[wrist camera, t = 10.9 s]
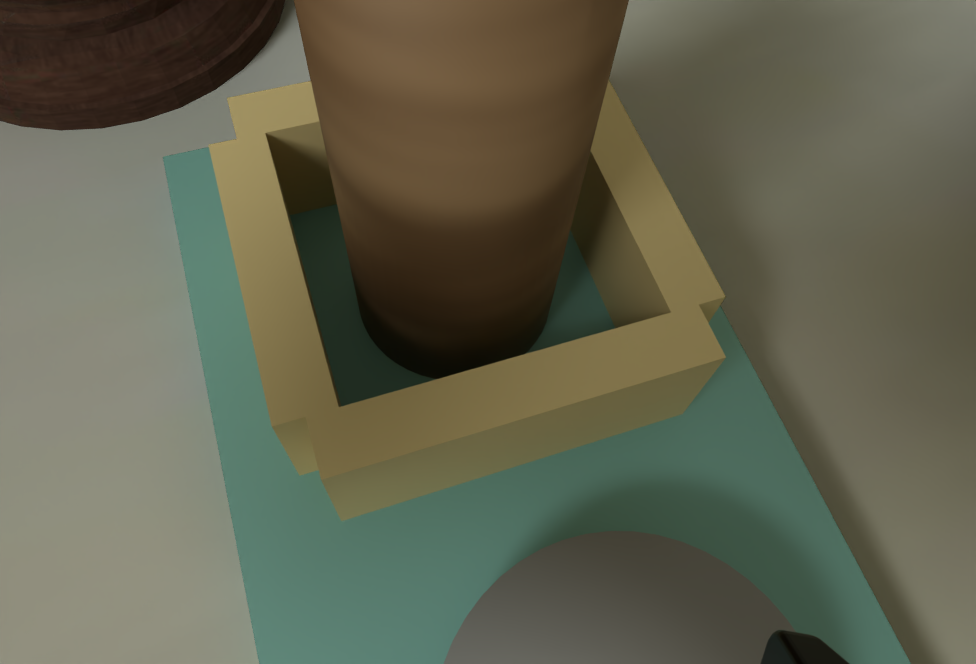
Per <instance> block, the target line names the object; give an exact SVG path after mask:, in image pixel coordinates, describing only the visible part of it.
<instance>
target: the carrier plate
mask: <svg viewBox="0 0 976 664" xmlns="http://www.w3.org/2000/svg"><path fill="white" fill-rule="evenodd" d="M227 100H228V104H229V108H230V113H231V117H232V121H233V125H234V129H235V133H236V137H237V139H234V140H229V141H224V142H220V143H215V144H210V145H209V147H207V148H202V149H198V150H193V151H188V152H184V153H179V154H174V155H170V156H165V157H163V160H164V166H165V171H166V176H167V181H168V187H169V192H170V197H171V202H172V208H173V213H174V218H175V223H176V229H177V234H178V239H179V244H180V250H181V255H182V260H183V265H184V271H185V276H186V281H187V286H188V292H189V297H190V302H191V307H192V313H193V318H194V323H195V328H196V334H197V339H198V344H199V349H200V355H201V360H202V365H203V370H204V376H205V381H206V386H207V391H208V397H209V402H210V407H211V413H212V418H213V423H214V428H215V434H216V439H217V444H218V449H219V455H220V460H221V465H222V470H223V476H224V481H225V486H226V491H227V497H228V502H229V507H230V512H231V518H232V523H233V528H234V533H235V539H236V544H237V549H238V554H239V560H240V565H241V570H242V575H243V581H244V586H245V591H246V596H247V602H248V607H249V612H250V617H251V623H252V628H253V633H254V638H255V644H256V649H257V654H258V659H259V664H760V663H761V660H762V657H763V654H764V651H765V648H766V644H767V642H768V639H769V638H770V636H771V635H772V633H773V632H775V631H777V630H786V631H792V632H798V633H803V634H809V635H813V636H816V637H818V638H820V639H821V640H822V641H823V642H825V643H826V644H827V645H828V646H829V647H830V648H832V649H833V650H834V651H835V652H836V653H838V654H839V655H840V656H841V657H842V658H843V659H845V660H846V661H847V662H848V663H849V664H911V663H910V661H909V659H908V658H907V656H906V654H905V652H904V650H903V648H902V646H901V644H900V642H899V641H898V639H897V637H896V635H895V633H894V631H893V629H892V627H891V626H890V624H889V622H888V620H887V618H886V616H885V614H884V612H883V611H882V609H881V607H880V605H879V603H878V601H877V599H876V597H875V595H874V594H873V592H872V590H871V588H870V586H869V584H868V582H867V580H866V579H865V577H864V575H863V573H862V571H861V569H860V567H859V565H858V563H857V562H856V560H855V558H854V556H853V554H852V552H851V550H850V548H849V547H848V545H847V543H846V541H845V539H844V537H843V535H842V533H841V532H840V530H839V528H838V526H837V524H836V522H835V520H834V518H833V516H832V515H831V513H830V511H829V509H828V507H827V505H826V503H825V501H824V500H823V498H822V496H821V494H820V492H819V490H818V488H817V486H816V485H815V483H814V481H813V479H812V477H811V475H810V473H809V471H808V469H807V468H806V466H805V464H804V462H803V460H802V458H801V456H800V454H799V453H798V451H797V449H796V447H795V445H794V443H793V441H792V439H791V438H790V436H789V434H788V432H787V430H786V428H785V426H784V424H783V422H782V421H781V419H780V417H779V415H778V413H777V411H776V409H775V407H774V406H773V404H772V402H771V400H770V398H769V396H768V394H767V392H766V391H765V389H764V387H763V385H762V383H761V381H760V379H759V377H758V375H757V374H756V372H755V370H754V368H753V366H752V364H751V362H750V360H749V359H748V357H747V355H746V353H745V351H744V349H743V347H742V345H741V344H740V342H739V340H738V338H737V336H736V334H735V332H734V330H733V328H732V327H731V325H730V323H729V321H728V319H727V317H726V315H725V313H724V312H723V310H722V308H721V306H720V305H721V303H722V302H723V300H724V299H725V297H726V296H725V294H724V293H723V291H722V289H721V287H720V285H719V283H718V281H717V280H716V278H715V276H714V274H713V272H712V270H711V268H710V267H709V265H708V263H707V261H706V259H705V257H704V255H703V254H702V252H701V250H700V248H699V246H698V244H697V242H696V241H695V239H694V237H693V235H692V233H691V231H690V229H689V228H688V226H687V224H686V222H685V220H684V218H683V216H682V215H681V213H680V211H679V209H678V207H677V205H676V203H675V202H674V200H673V198H672V196H671V194H670V192H669V190H668V189H667V187H666V185H665V183H664V181H663V179H662V177H661V176H660V174H659V172H658V170H657V168H656V166H655V164H654V163H653V161H652V159H651V157H650V155H649V153H648V151H647V150H646V148H645V146H644V144H643V142H642V140H641V138H640V137H639V135H638V133H637V131H636V129H635V127H634V125H633V124H632V122H631V120H630V118H629V116H628V114H627V112H626V111H625V109H624V107H623V105H622V103H621V101H620V99H619V98H618V96H617V94H616V92H615V90H614V88H613V86H612V85H611V83H610V81H609V80H608V84H607V88H606V92H605V95H604V99H603V103H602V107H601V111H600V115H599V119H598V123H597V127H596V131H595V135H594V139H593V142H592V146H591V150H590V154H589V158H588V162H587V166H586V170H585V174H584V178H583V182H582V185H581V189H580V193H579V197H578V201H577V205H576V209H575V213H574V217H573V221H572V225H571V229H570V232H569V236H568V240H567V244H566V248H565V252H564V256H563V260H562V264H561V268H560V272H559V276H558V279H557V283H556V287H555V291H554V295H553V299H552V303H551V307H550V311H549V314H548V318H547V322H546V324H545V326H544V329H543V331H542V333H541V335H540V336H539V338H538V339H537V341H536V342H535V344H534V345H533V346H532V347H531V348H530V350H529V351H528V352H527V353H526V354H524V355H520V356H517V357H513V358H510V359H506V360H503V361H499V362H496V363H492V364H489V365H485V366H482V367H478V368H475V369H471V370H468V371H464V372H461V373H457V374H454V375H450V376H447V377H443V378H440V379H434V378H429V377H426V376H422V375H419V374H416V373H414V372H412V371H409V370H407V369H405V368H404V367H402V366H400V365H398V364H397V363H395V362H394V361H393V360H391V359H390V358H389V357H387V356H386V355H385V354H384V353H383V352H382V351H381V350H380V349H379V348H378V347H377V346H376V344H375V343H374V342H373V340H372V339H371V338H370V336H369V334H368V332H367V330H366V329H365V327H364V324H363V321H362V319H361V315H360V311H359V306H358V301H357V296H356V292H355V287H354V282H353V278H352V273H351V268H350V263H349V259H348V254H347V249H346V244H345V240H344V235H343V230H342V226H341V221H340V216H339V211H338V207H337V202H336V197H335V192H334V188H333V183H332V178H331V174H330V169H329V164H328V159H327V155H326V150H325V145H324V140H323V136H322V131H321V126H320V122H319V117H318V112H317V107H316V103H315V98H314V93H313V89H312V84H311V81H308V82H303V83H298V84H294V85H289V86H284V87H279V88H274V89H269V90H264V91H259V92H254V93H249V94H244V95H239V96H234V97H229V98H227Z"/></svg>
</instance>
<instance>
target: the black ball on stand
mask: <svg viewBox="0 0 976 664" xmlns="http://www.w3.org/2000/svg"><path fill="white" fill-rule="evenodd" d="M284 3H285V0H0V121H3V122H7V123H11V124H14V125H18V126H23V127H33V128H43V129H53V130H76V129H96V128H106V127H111V126H116V125H121V124H127V123H132V122H137V121H142V120H145V119H148V118H151V117H154V116H157V115H160V114H163V113H166V112H169V111H172V110H175V109H178V108H180V107H183V106H184V105H186V104H188V103H190V102H192V101H194V100H196V99H198V98H200V97H202V96H204V95H206V94H208V93H210V92H212V91H214V90H215V89H217V88H218V87H219V86H221V85H222V84H223V83H225V82H226V81H227V80H229V79H230V78H232V77H233V76H234V75H236V74H237V73H238V72H240V71H241V70H242V69H244V67H245V66H246V65H247V64H248V63H249V62H250V61H251V60H252V59H253V58H254V57H255V56H256V55H257V53H258V52H259V51H260V50H261V49H262V48H263V47H264V46H265V44H266V43H267V41H268V39H269V38H270V36H271V34H272V33H273V31H274V29H275V28H276V26H277V24H278V23H279V20H280V17H281V14H282V10H283V7H284Z"/></svg>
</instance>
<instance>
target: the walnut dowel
mask: <svg viewBox="0 0 976 664" xmlns="http://www.w3.org/2000/svg"><path fill="white" fill-rule="evenodd" d="M628 2H629V0H294V3H295V8H296V13H297V18H298V22H299V27H300V32H301V37H302V41H303V46H304V51H305V55H306V60H307V65H308V70H309V74H310V79H311V84H312V89H313V93H314V98H315V103H316V107H317V112H318V117H319V122H320V126H321V131H322V136H323V140H324V145H325V150H326V155H327V159H328V164H329V169H330V174H331V178H332V183H333V188H334V192H335V197H336V202H337V207H338V211H339V216H340V221H341V226H342V230H343V235H344V240H345V244H346V249H347V254H348V259H349V263H350V268H351V273H352V278H353V282H354V287H355V292H356V296H357V301H358V306H359V311H360V315H361V319H362V321H363V324H364V327H365V329H366V330H367V332H368V334H369V336H370V338H371V339H372V340H373V342H374V343H375V344H376V346H377V347H378V348H379V349H380V350H381V351H382V352H383V353H384V354H385V355H386V356H387V357H389V358H390V359H391V360H393V361H394V362H395V363H397V364H398V365H400V366H402V367H404V368H405V369H407V370H409V371H412V372H414V373H416V374H419V375H422V376H426V377H429V378H434V379H440V378H443V377H447V376H450V375H454V374H457V373H461V372H464V371H468V370H471V369H475V368H478V367H482V366H485V365H489V364H492V363H496V362H499V361H503V360H506V359H510V358H513V357H517V356H520V355H524V354H526V353H527V352H528V351H529V350H530V348H531V347H532V346H533V345H534V344H535V342H536V341H537V339H538V338H539V336H540V335H541V333H542V331H543V329H544V326H545V324H546V322H547V318H548V314H549V311H550V307H551V303H552V299H553V295H554V291H555V287H556V283H557V279H558V276H559V272H560V268H561V264H562V260H563V256H564V252H565V248H566V244H567V240H568V236H569V232H570V229H571V225H572V221H573V217H574V213H575V209H576V205H577V201H578V197H579V193H580V189H581V185H582V182H583V178H584V174H585V170H586V166H587V162H588V158H589V154H590V150H591V146H592V142H593V139H594V135H595V131H596V127H597V123H598V119H599V115H600V111H601V107H602V103H603V99H604V95H605V92H606V88H607V84H608V80H609V76H610V72H611V68H612V64H613V60H614V56H615V52H616V48H617V45H618V41H619V37H620V33H621V29H622V25H623V21H624V17H625V13H626V9H627V5H628Z"/></svg>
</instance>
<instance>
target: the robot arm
mask: <svg viewBox="0 0 976 664" xmlns="http://www.w3.org/2000/svg"><path fill="white" fill-rule="evenodd" d="M760 664H849V663H848V662H847V661H846V660H845V659H843V658H842V657H841V656H840V655H839V654H838V653H836V652H835V651H834V650H833V649H832V648H830V647H829V646H828V645H827V644H826V643H825V642H823V641H822V640H821V639H820V638H818V637H816V636H813V635H809V634H803V633H798V632H792V631H786V630H777V631H775V632H773V633H772V635H771V636H770V638H769V639H768V642H767V644H766V648H765V651H764V654H763V657H762V660H761V663H760Z"/></svg>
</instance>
